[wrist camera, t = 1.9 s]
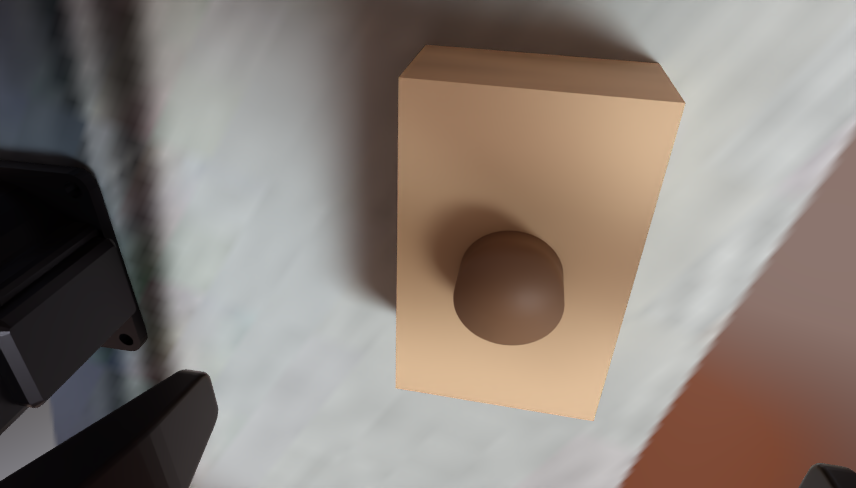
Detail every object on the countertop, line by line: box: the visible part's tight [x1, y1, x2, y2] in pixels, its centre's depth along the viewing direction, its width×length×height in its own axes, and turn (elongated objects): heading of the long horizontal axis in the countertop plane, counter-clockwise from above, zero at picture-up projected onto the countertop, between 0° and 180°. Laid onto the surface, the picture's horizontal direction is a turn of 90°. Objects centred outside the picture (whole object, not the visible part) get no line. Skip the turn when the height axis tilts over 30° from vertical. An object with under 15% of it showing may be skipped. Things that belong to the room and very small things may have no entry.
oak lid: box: [396, 45, 685, 421], centre depth 13 cm, size 8×5×4 cm, turn 178°
